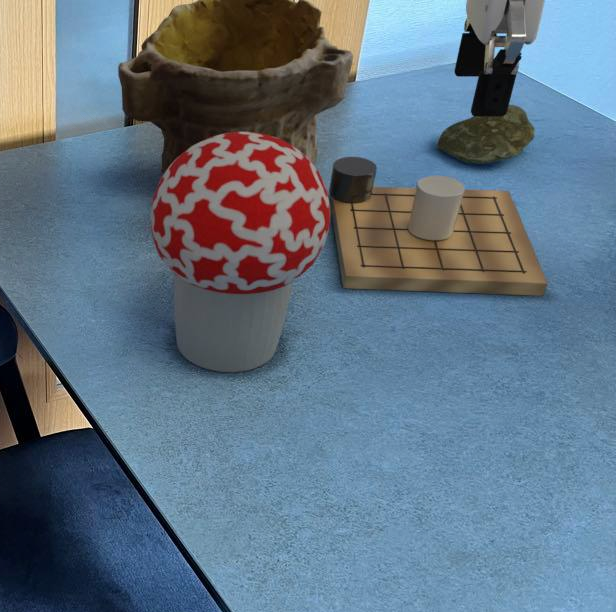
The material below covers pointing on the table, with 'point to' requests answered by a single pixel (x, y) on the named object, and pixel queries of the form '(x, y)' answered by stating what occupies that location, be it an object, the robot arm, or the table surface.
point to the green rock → (488, 137)
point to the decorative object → (237, 243)
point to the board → (436, 246)
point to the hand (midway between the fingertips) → (478, 94)
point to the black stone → (352, 179)
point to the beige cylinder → (435, 207)
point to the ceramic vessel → (235, 74)
